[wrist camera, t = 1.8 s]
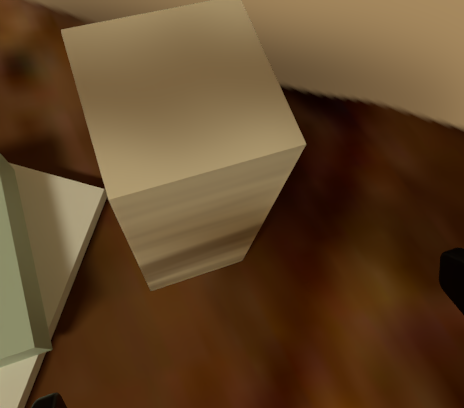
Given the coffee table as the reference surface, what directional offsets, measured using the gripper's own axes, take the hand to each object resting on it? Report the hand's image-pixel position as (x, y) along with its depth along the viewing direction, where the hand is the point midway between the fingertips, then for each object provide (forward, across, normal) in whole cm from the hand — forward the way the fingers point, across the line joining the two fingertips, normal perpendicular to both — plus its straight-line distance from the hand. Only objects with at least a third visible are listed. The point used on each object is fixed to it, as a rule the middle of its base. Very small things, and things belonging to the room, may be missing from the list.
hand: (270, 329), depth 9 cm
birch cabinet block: (+14, 0, +4) cm, 14 cm away
